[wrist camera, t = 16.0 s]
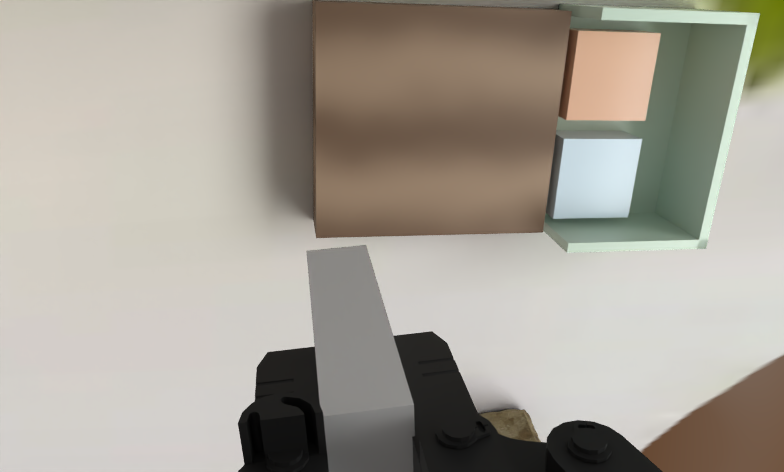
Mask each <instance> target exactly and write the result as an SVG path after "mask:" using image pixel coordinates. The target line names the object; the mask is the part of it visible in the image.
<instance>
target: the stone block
mask: <svg viewBox="0 0 784 472" xmlns="http://www.w3.org/2000/svg"><path fill="white" fill-rule="evenodd" d="M479 415H481V416H482V417H484V418H486V419H488V420H489V421H490V422H491V423H492V425H493V426H494V427H495V428H496V430H497V432H498V433H499V434H501V435H503V436H506V437H509V438H513V439H518V440H524V441H534V442H541V441H540V440H539V438H538V435H537V433H536V431H535V429H534V426H533V424H532V421H531V418H530V416H529V414H528V413H527V412H526V411H525V410H516V409H506V410H503V411H499V412H487V413H482V414H479Z"/></svg>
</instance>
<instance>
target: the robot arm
mask: <svg viewBox="0 0 784 472" xmlns="http://www.w3.org/2000/svg"><path fill="white" fill-rule="evenodd" d="M307 262H308V273H309V285H310V296H311V308H312V320H313V331H314V343H315V347H308V348H300V349H291V350H283V351H274V352H268V353H267V354H266V355H265V357H264V358H263V360H262V361H261V362H260V364H259V365H258V367H257V374H256V390H255V402H253V403H252V404H251V405H250V406H249V407H248V408H247V409H246V410H244V411H243V412H242V415H241V417H240V420H239V422H238V426H239V432H240V439H241V445H242V451H243V457H244V463H245V465H244V466H243V467H242V468H241V469H240V470H239V471H238V472H662V471H661V470H660V469H659V468H657V466H656V465H654V464H653V463H652V462H651V461H650V460H649V459H648V458H647V457H645V456H644V455H643V454H642V453H641V452H640V451H639V450H638V449H636V448H635V447H634V446H633V445H632V444H631V443H630V442H629V441H627V440H626V439H625V438H624V437H623V436H622V435H620V434H619V433H617V432H616V431H614V430H613V429H611V428H610V427H607V426H604V425H601V424H599V423H596V422H590V421H579V420H577V421H571V422H565V423H562V424H561V425H559V426H557V427H555V428H553V429H552V431H551V433H550V434H549V436H548V437H547V443H544V442H534V441H524V440H518V439H513V438H509V437H506V436H503V435H501V434H499V433H498V432H497V430H496V428H495V427H494V426H493V425H492V423H491V422H490V421H489V420H488V419H486V418H484V417H482V416H481V415H479V414H478V413H477V411H476V408H475V406H474V404H473V401H472V399H471V397H470V395H469V392H468V390H467V388H466V385H465V383H464V381H463V379H462V376H461V374H460V372H459V371H458V367H457V365H456V363H455V360H453V356H452V353H451V351H450V349H449V347H448V344H447V343H446V342H445V341H444V340H442V339H441V338H440V337H439V336H437V335H436V334H435V333H433V332H423V333H414V334H406V335H397V336H393V333H392V330H391V327H390V323H389V320H388V317H387V313H386V310H385V307H384V303H383V300H382V297H381V293H380V290H379V287H378V283H377V280H376V277H375V273H374V270H373V267H372V263H371V260H370V257H369V254H368V250H367V247H366V245H362V246H352V247H341V248H331V249H321V250H311V251H307Z"/></svg>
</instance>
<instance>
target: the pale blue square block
mask: <svg viewBox="0 0 784 472" xmlns="http://www.w3.org/2000/svg"><path fill="white" fill-rule="evenodd" d="M641 144H642V139H641V138H639V137H636V136H634V135H632V134H629V133H627V132H625V131H596V130H556V137H555V144H554V152H553V160H552V167H551V175H550V183H549V190H548V198H547V205H546V213H547V214H548V215H549V216H551V217H552V218H553V219H567V218H620V217H628V215H629V210H630V204H631V199H632V193H633V188H634V182H635V177H636V171H637V166H638V160H639V155H640V149H641Z"/></svg>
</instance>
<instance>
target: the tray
mask: <svg viewBox="0 0 784 472" xmlns="http://www.w3.org/2000/svg"><path fill="white" fill-rule="evenodd" d="M559 10H566V11H572V14H571V22H570V28H586V29H616V30H641V31H648V32H655V33H661V37H660V42H659V48H658V53H657V59H656V64H655V70H654V75H653V81H652V86H651V92H650V97H649V103H648V109H647V114H646V120H645V121H602V120H565V119H563V118H561V117H559V116H558V121H557V129H556V130H596V131H625V132H627V133H629V134H632V135H634V136H636V137H639V138H641V139H642V144H641V149H640V155H639V160H638V166H637V171H636V177H635V182H634V188H633V193H632V199H631V204H630V210H629V215H628V217H620V218H567V219H553V218H552V217H551V216H549V215H548V214H547V213H545V221H544V228H543V231H544V232H546V233H547V234H548V235H549V236H550V237H551V238H552V239H553V240H554V241H555V242H556V243H557V244H558V245H559V246H560V247H561V248H563V249H564V250H565V251H566V252H567V253H576V252H610V251H644V250H677V249H706V246H707V242H708V237H709V233H710V229H711V224H712V220H713V216H714V211H715V207H716V203H717V198H718V194H719V190H720V185H721V181H722V176H723V172H724V168H725V163H726V159H727V155H728V150H729V146H730V142H731V137H732V133H733V129H734V124H735V120H736V115H737V111H738V107H739V102H740V98H741V94H742V89H743V85H744V81H745V76H746V72H747V68H748V63H749V59H750V54H751V50H752V46H753V41H754V37H755V33H756V28H757V24H758V20H759V15H760V13H747V12H733V11H719V10H704V9H684V8H657V7H631V6H604V5H578V4H559Z"/></svg>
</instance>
